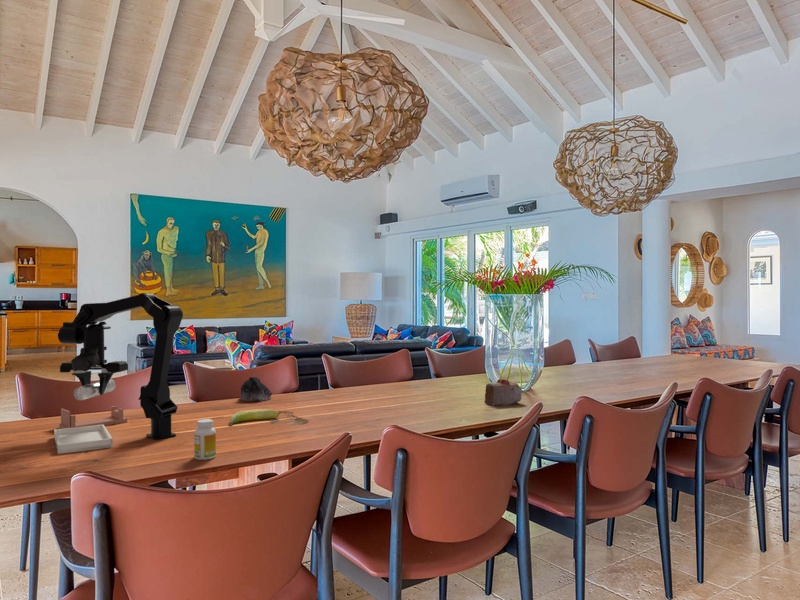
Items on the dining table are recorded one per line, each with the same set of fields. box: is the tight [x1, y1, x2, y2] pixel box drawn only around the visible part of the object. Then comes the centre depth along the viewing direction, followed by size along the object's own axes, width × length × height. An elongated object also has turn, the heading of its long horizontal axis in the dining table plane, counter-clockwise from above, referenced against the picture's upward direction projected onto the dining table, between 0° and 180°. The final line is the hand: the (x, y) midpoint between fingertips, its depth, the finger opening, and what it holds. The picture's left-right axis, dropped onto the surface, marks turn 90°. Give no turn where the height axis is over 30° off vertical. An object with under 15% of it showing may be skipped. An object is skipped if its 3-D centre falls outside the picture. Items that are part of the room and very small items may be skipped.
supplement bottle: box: [193, 418, 217, 461], centre depth 156 cm, size 5×5×10 cm
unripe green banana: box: [211, 408, 309, 432], centre depth 200 cm, size 35×27×4 cm
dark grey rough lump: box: [240, 376, 272, 402], centre depth 241 cm, size 13×14×10 cm
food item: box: [484, 378, 523, 407], centre depth 234 cm, size 14×8×10 cm, turn 117°
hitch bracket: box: [58, 405, 128, 429], centre depth 192 cm, size 18×7×6 cm, turn 137°
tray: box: [53, 424, 114, 455], centre depth 170 cm, size 21×13×2 cm, turn 33°
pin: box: [73, 378, 117, 401], centre depth 182 cm, size 16×4×4 cm, turn 177°
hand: (94, 394), depth 182 cm, fingers closed on pin, 4 cm apart
